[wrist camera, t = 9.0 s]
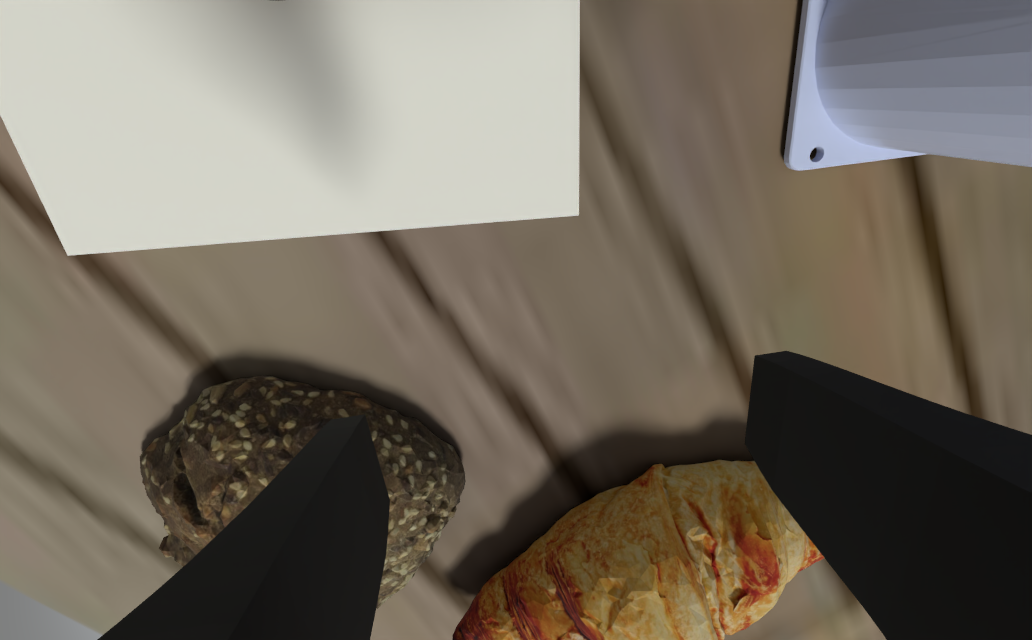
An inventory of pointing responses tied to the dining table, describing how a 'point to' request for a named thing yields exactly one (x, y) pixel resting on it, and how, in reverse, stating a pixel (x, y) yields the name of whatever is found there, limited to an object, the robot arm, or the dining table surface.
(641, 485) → the croissant
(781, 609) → the dining table surface
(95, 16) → the cover
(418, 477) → the bread roll
